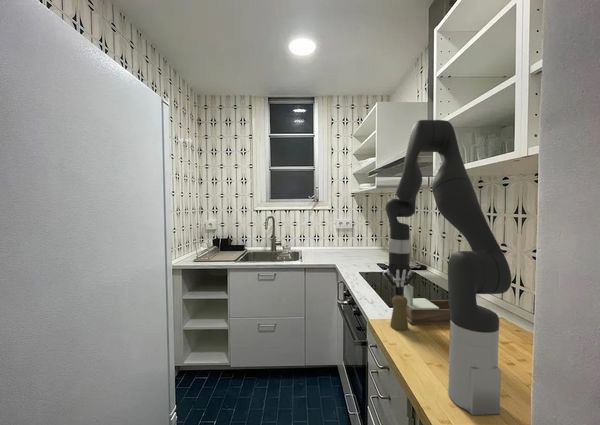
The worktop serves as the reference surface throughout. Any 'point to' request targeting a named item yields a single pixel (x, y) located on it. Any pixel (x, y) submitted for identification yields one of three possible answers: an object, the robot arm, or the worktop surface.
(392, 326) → the olive rounded piece
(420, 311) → the caddy
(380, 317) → the worktop surface
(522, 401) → the worktop surface
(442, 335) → the worktop surface
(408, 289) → the lid
